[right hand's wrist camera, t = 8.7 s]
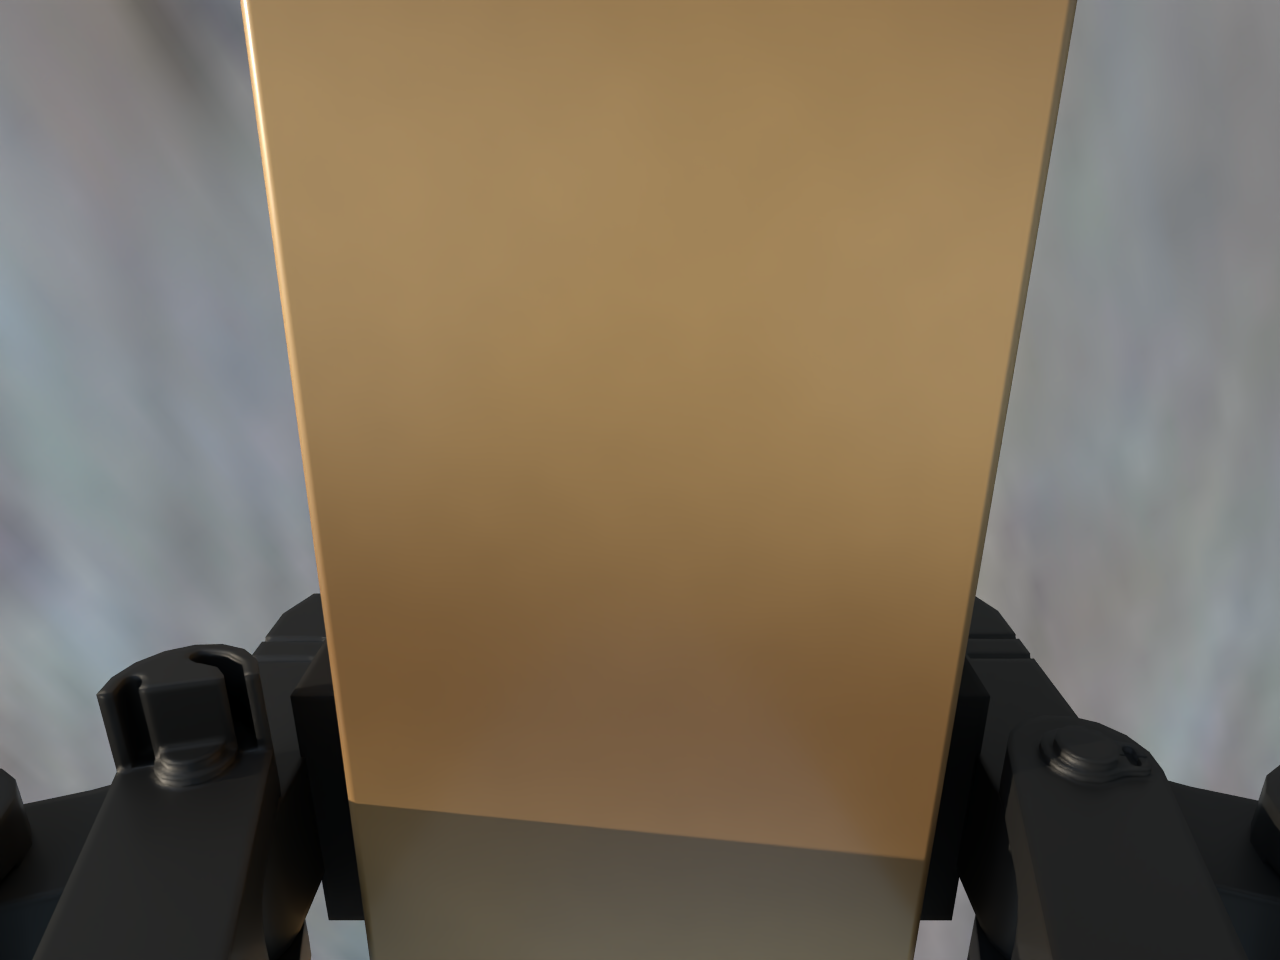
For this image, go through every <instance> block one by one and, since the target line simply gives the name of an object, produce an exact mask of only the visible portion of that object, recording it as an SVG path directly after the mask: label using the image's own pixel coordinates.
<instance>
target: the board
mask: <svg viewBox="0 0 1280 960" xmlns="http://www.w3.org/2000/svg"><path fill="white" fill-rule="evenodd" d="M240 1H241V9H242V16H243V23H244V31H245V38H246V46H247V53H248V61H249V68H250V75H251V83H252V90H253V98H254V105H255V112H256V120H257V127H258V135H259V142H260V149H261V157H262V164H263V172H264V179H265V186H266V194H267V201H268V209H269V216H270V223H271V231H272V238H273V246H274V253H275V260H276V268H277V275H278V283H279V290H280V297H281V305H282V312H283V320H284V327H285V334H286V342H287V349H288V357H289V364H290V371H291V379H292V386H293V394H294V401H295V408H296V416H297V423H298V431H299V438H300V445H301V453H302V460H303V468H304V475H305V482H306V490H307V497H308V505H309V512H310V519H311V527H312V534H313V542H314V549H315V556H316V564H317V571H318V579H319V586H320V593H321V601H322V608H323V616H324V623H325V630H326V638H327V645H328V653H329V660H330V668H331V675H332V682H333V690H334V697H335V705H336V712H337V719H338V727H339V734H340V742H341V749H342V756H343V764H344V771H345V779H346V786H347V793H348V801H349V808H350V816H351V823H352V830H353V838H354V845H355V853H356V860H357V867H358V875H359V882H360V890H361V897H362V904H363V912H364V919H365V927H366V934H367V941H368V949H369V956H370V960H913V958H914V952H915V947H916V941H917V935H918V929H919V923H920V917H921V911H922V906H923V900H924V894H925V888H926V882H927V876H928V871H929V865H930V859H931V853H932V847H933V841H934V835H935V830H936V824H937V818H938V812H939V806H940V800H941V794H942V789H943V783H944V777H945V771H946V765H947V759H948V753H949V748H950V742H951V736H952V730H953V724H954V718H955V712H956V707H957V701H958V695H959V689H960V683H961V677H962V671H963V666H964V660H965V654H966V648H967V642H968V636H969V630H970V625H971V619H972V613H973V607H974V601H975V595H976V589H977V584H978V578H979V572H980V566H981V560H982V554H983V548H984V543H985V537H986V531H987V525H988V519H989V513H990V508H991V502H992V496H993V490H994V484H995V478H996V472H997V467H998V461H999V455H1000V449H1001V443H1002V437H1003V431H1004V426H1005V420H1006V414H1007V408H1008V402H1009V396H1010V390H1011V385H1012V379H1013V373H1014V367H1015V361H1016V355H1017V349H1018V344H1019V338H1020V332H1021V326H1022V320H1023V314H1024V308H1025V303H1026V297H1027V291H1028V285H1029V279H1030V273H1031V267H1032V262H1033V256H1034V250H1035V244H1036V238H1037V232H1038V226H1039V221H1040V215H1041V209H1042V203H1043V197H1044V191H1045V185H1046V180H1047V174H1048V168H1049V162H1050V156H1051V150H1052V145H1053V139H1054V133H1055V127H1056V121H1057V115H1058V109H1059V104H1060V98H1061V92H1062V86H1063V80H1064V74H1065V68H1066V63H1067V57H1068V51H1069V45H1070V39H1071V33H1072V27H1073V22H1074V16H1075V10H1076V4H1077V0H240Z"/></svg>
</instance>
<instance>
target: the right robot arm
mask: <svg viewBox="0 0 1280 960" xmlns="http://www.w3.org/2000/svg"><path fill="white" fill-rule="evenodd" d="M97 699H98V702H99V706H100V710H101V714H102V717H103V721H104V725H105V728H106V732H107V736H108V740H109V743H110V747H111V751H112V755H113V758H114V762H115V766H116V769H117V773H116V775H115V777H114V779H113V782H112V784H111V785H109V786H105V787H101V788H98V789H94V790H90V791H85V792H80V793H76V794H71V795H66V796H61V797H56V798H52V799H47V800H42V801H37V802H32V803H28V804H23V802H22V798H21V795H20V792H19V789H18V786H17V783H16V780H15V779H14V778H13V777H12V776H10V775H9V774H8V773H7V772H5V771H4V770H3V769H0V960H311V950H310V943H309V936H308V931H307V926H306V920H305V918H306V916H307V913H308V911H309V909H310V906H311V904H312V902H313V899H314V897H315V895H316V892H317V890H318V888H319V885H320V883H321V880H322V884H323V889H324V895H325V901H326V907H327V913H328V918H329V920H365V919H364V912H363V904H362V897H361V890H360V882H359V875H358V867H357V860H356V853H355V845H354V838H353V830H352V823H351V816H350V808H349V801H348V793H347V786H346V779H345V771H344V764H343V756H342V749H341V742H340V734H339V727H338V719H337V712H336V705H335V697H334V690H333V682H332V675H331V668H330V660H329V653H328V645H327V638H326V630H325V623H324V616H323V608H322V601H321V594H313V595H311V596H310V597H308V598H306V599H305V600H303V601H302V602H300V603H299V604H297V605H296V606H294V607H293V608H291V609H290V610H288V611H287V612H285V613H283V614H282V616H281V617H280V618H279V620H278V621H277V623H276V624H275V625H274V627H273V628H272V629H271V631H270V632H269V633H268V635H267V636H266V640H265V642H262V643H261V644H260V645H259V647H258V648H257V649H256V651H255V652H254V653H253V655H251V654H250V653H249V652H247V651H246V650H245V649H242V648H237V647H233V646H229V645H224V644H210V645H192V646H187V647H183V648H178V649H173V650H168V651H164V652H162V653H159V654H156V655H154V656H151V657H149V658H146V659H143V660H141V661H138V662H136V663H134V664H133V665H131V666H129V667H128V668H126V669H125V670H123V671H121V672H120V673H118V674H117V675H115V676H113V677H112V678H111V679H110V680H109V681H108V682H107V683H106V684H105V686H104V687H103V688H102V689H101V690H100V691H99V692H98V693H97ZM959 877H960V880H961V882H962V884H963V887H964V889H965V891H966V893H967V896H968V898H969V900H970V903H971V905H972V907H973V910H974V912H975V914H976V915H975V920H974V926H973V931H972V936H971V942H970V947H969V952H968V958H967V960H1280V765H1279V766H1278V767H1277V768H1276V769H1274V770H1273V771H1272V772H1271V773H1269V774H1268V775H1267V776H1266V779H1265V782H1264V785H1263V788H1262V791H1261V794H1260V798H1259V801H1257V800H1252V799H1247V798H1243V797H1238V796H1233V795H1228V794H1223V793H1219V792H1214V791H1209V790H1204V789H1199V788H1194V787H1190V786H1186V785H1182V784H1179V783H1175V782H1171V781H1168V780H1167V778H1166V776H1165V773H1164V771H1163V770H1162V768H1161V767H1160V766H1159V764H1158V763H1157V762H1156V760H1155V759H1154V758H1153V756H1152V755H1151V754H1150V752H1149V751H1147V750H1146V749H1144V748H1143V747H1142V746H1140V745H1139V744H1138V743H1136V742H1135V741H1134V740H1132V739H1131V738H1129V737H1128V736H1127V735H1125V734H1122V733H1120V732H1118V731H1116V730H1113V729H1111V728H1109V727H1107V726H1104V725H1102V724H1100V723H1097V722H1093V721H1089V720H1084V719H1080V718H1078V717H1077V715H1076V714H1075V713H1074V711H1073V710H1072V709H1071V707H1070V706H1069V705H1068V703H1067V702H1066V701H1065V699H1064V698H1063V697H1062V695H1061V694H1060V693H1059V691H1058V690H1057V689H1056V687H1055V686H1054V685H1053V683H1052V682H1051V681H1050V679H1049V678H1048V677H1047V675H1046V674H1045V673H1044V671H1043V670H1042V669H1041V667H1040V666H1039V665H1038V663H1037V662H1036V661H1035V659H1031V658H1030V653H1029V651H1028V650H1027V649H1026V647H1025V646H1024V645H1023V644H1022V642H1021V641H1020V640H1019V639H1016V637H1015V633H1014V632H1013V630H1012V629H1011V628H1010V626H1009V625H1008V624H1007V622H1006V621H1005V620H1004V618H1003V617H1002V616H1001V614H1000V613H999V612H998V611H997V610H996V609H994V608H993V607H991V606H990V605H988V604H986V603H985V602H983V601H982V600H980V599H979V598H977V597H976V596H975V601H974V607H973V613H972V619H971V625H970V630H969V636H968V642H967V648H966V654H965V660H964V666H963V671H962V677H961V683H960V689H959V695H958V701H957V707H956V712H955V718H954V724H953V730H952V736H951V742H950V748H949V753H948V759H947V765H946V771H945V777H944V783H943V789H942V794H941V800H940V806H939V812H938V818H937V824H936V830H935V835H934V841H933V847H932V853H931V859H930V865H929V871H928V876H927V882H926V888H925V894H924V900H923V906H922V911H921V917H920V920H952V916H953V910H954V904H955V898H956V893H957V887H958V881H959Z"/></svg>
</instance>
